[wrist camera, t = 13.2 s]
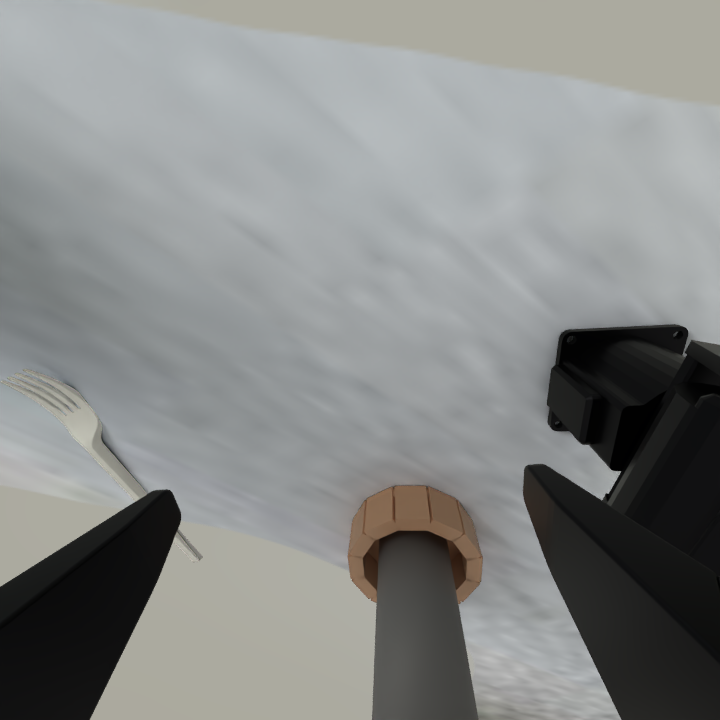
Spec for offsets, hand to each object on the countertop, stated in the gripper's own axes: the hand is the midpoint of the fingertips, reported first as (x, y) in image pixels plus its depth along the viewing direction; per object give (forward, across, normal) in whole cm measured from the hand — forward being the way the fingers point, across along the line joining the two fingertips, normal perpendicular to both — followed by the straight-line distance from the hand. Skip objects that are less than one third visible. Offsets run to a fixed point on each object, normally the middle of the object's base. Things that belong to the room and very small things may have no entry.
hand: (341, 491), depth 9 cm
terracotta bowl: (+13, -2, +16) cm, 21 cm away
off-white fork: (+14, +20, +10) cm, 26 cm away
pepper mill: (+12, -2, +16) cm, 20 cm away
